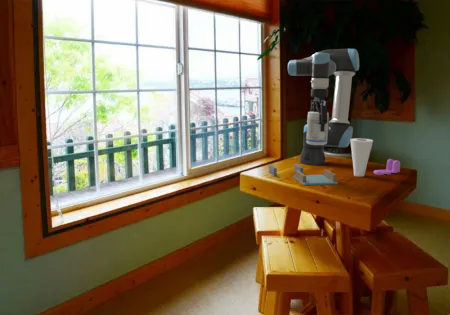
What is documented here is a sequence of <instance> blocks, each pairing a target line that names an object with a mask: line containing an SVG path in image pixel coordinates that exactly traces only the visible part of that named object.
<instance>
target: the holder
mask: <svg viewBox="0 0 450 315" xmlns="http://www.w3.org/2000/svg"><path fill="white" fill-rule="evenodd" d="M295 170H299V171H300V172H301V173H303V174H304V167H303V166H301V165H300V164H298V163H294V164H293V172H294V173H295ZM277 172H278V168H277V167H276V166H275V165H273V164H271V163H270V164H268V173H269V174H270V175H272V176H273V177H278V175H277V174H278V173H277Z"/></svg>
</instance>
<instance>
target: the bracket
mask: <svg viewBox="0 0 450 315" xmlns="http://www.w3.org/2000/svg"><path fill="white" fill-rule="evenodd" d="M400 170H401V162H400V160H398V159H397V160H394V159H392V158H388V159H387V161H386V166H385V169H374V170H373V174H374V175H378V176H380V175H381V176H384V174H387V175H392V174H391V173H397V172H401V171H400Z"/></svg>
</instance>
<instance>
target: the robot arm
mask: <svg viewBox="0 0 450 315" xmlns="http://www.w3.org/2000/svg"><path fill="white" fill-rule="evenodd" d="M358 52H359V51H358V50H357V49H356V48H339V49H338V48H337V49H335V48H333V49H326V50H325V49H324V50H321V51H318V52H315V53H314V54H312V55H311V56H309V57H304V58H302V59H291V60H289V61H288V63H287V72H288V75H289V76H295V77H296V76H297V77H298V76H299V77H300V76H303V77H304V76H307V77H310V76H311V80H310V83H311V89H310V97H311V98H313V99H311V100H310V111H309V112H318V113H321V114H319V123H318V124H319V128H318V139H324V135H325V124H326V123H328V136H327V144H325V145H311V144H308V143H307V142H306V138H307V124H305V125H304V126H303V140H302V141H303V144H302V151H301V153H300V156H299V159H298V160H299V163H300V164H304V165H309V166H311V165H312V166H320V165H321V166H322V165H326V164H327V157H326V155H325V150H324V147H325V146H326V147H335V148H347V147H348V146H349V145H351V141H350V139H353V134H354V133H353V132H354V131H353V130H354V129H353V126H352V125H351V123H350V121H349V120H348V119H349V111H350V101H351V92H352V81H353V80H352V79H353V78H352V77H354V76H355V75H356V72H357V71H359V69H360V57H359V53H358ZM332 75H334V76H335V84H334V94H333V103H332V113H331V114H332V115H331V119H330V120H328V121H327V112H328V100H325V98H328V94H329V89H328V88H329V82H330V79H329V78H330V76H332Z"/></svg>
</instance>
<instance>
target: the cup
mask: <svg viewBox="0 0 450 315" xmlns="http://www.w3.org/2000/svg"><path fill="white" fill-rule="evenodd" d="M373 142H374V140H373V139H371V138H351V139H350V148H351V158H352V169H353V176H354V177H358V178H359V177H365V174H366V170H367V167H368V166H367V164H368V162H369V158H370V153H371V151H372V146H373Z"/></svg>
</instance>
